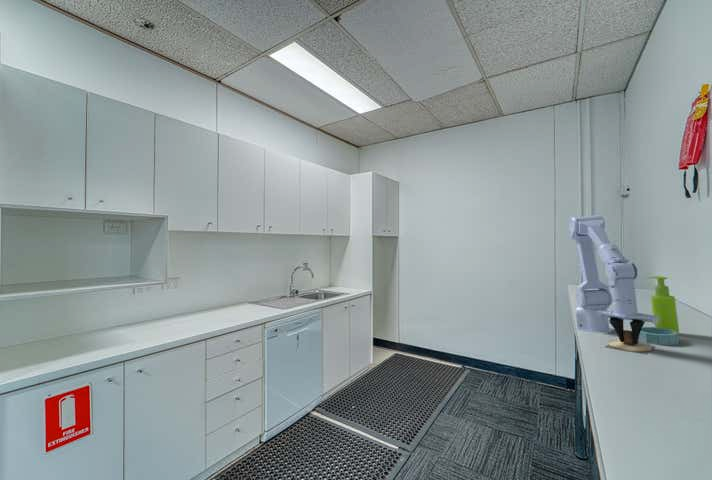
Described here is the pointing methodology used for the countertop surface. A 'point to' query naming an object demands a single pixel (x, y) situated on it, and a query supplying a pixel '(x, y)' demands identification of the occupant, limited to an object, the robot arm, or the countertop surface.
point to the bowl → (658, 336)
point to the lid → (629, 343)
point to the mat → (629, 351)
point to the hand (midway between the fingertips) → (629, 342)
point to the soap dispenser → (664, 306)
